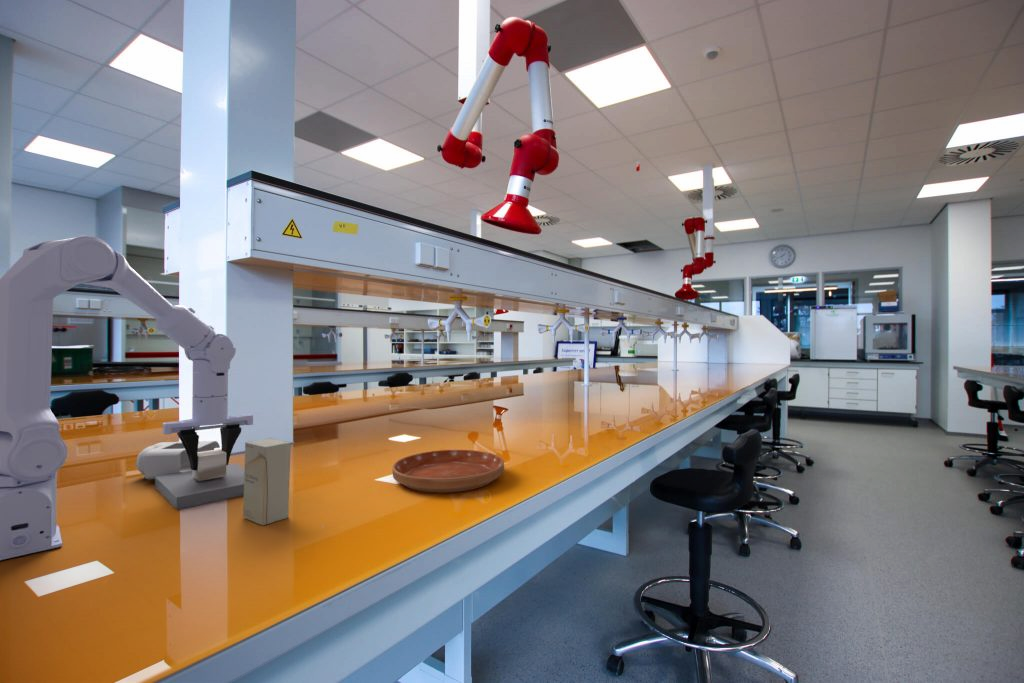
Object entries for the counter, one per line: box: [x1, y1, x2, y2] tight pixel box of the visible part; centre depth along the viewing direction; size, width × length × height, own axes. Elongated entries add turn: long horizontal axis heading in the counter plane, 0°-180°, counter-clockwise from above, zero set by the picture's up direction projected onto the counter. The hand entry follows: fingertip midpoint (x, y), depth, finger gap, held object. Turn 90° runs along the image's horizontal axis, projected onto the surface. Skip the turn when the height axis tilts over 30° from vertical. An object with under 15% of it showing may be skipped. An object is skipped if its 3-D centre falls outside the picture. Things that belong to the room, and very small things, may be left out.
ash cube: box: [193, 448, 226, 481], centre depth 89 cm, size 4×4×4 cm
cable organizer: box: [135, 440, 221, 480], centre depth 98 cm, size 7×12×12 cm
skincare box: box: [242, 437, 292, 526], centre depth 74 cm, size 6×4×12 cm
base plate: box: [154, 462, 245, 510], centre depth 89 cm, size 18×14×2 cm
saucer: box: [391, 449, 505, 494], centre depth 96 cm, size 23×23×4 cm
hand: (209, 466), depth 89 cm, fingers closed on ash cube, 4 cm apart
